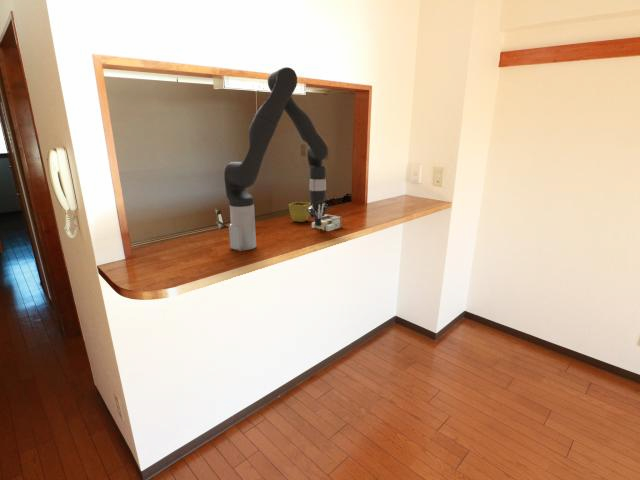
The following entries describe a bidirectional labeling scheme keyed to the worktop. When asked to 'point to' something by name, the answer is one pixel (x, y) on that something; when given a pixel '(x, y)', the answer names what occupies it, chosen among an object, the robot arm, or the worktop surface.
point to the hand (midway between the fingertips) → (317, 226)
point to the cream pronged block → (324, 223)
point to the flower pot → (299, 211)
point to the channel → (335, 222)
